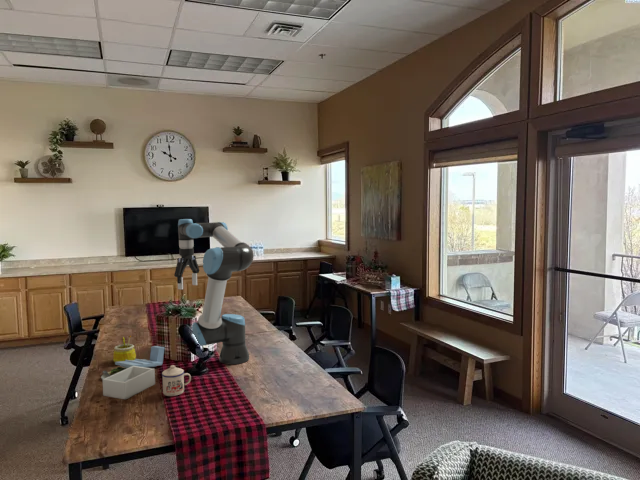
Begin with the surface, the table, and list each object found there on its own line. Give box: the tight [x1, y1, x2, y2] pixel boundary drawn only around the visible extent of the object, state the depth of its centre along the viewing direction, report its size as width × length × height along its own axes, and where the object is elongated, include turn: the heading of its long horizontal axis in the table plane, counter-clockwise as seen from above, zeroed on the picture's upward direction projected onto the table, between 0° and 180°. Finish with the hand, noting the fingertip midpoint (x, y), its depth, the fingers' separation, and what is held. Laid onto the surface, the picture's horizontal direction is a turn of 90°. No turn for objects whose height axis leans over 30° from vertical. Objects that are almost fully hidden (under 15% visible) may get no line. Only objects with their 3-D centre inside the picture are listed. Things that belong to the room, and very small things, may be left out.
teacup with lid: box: [161, 364, 192, 397], centre depth 208 cm, size 12×9×12 cm
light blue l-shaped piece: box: [114, 345, 165, 368], centre depth 238 cm, size 12×22×9 cm, turn 153°
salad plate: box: [100, 366, 127, 380], centre depth 228 cm, size 19×18×5 cm
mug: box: [112, 335, 137, 363], centre depth 250 cm, size 13×11×12 cm
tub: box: [101, 366, 156, 400], centre depth 212 cm, size 12×18×7 cm, turn 159°
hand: (187, 287), depth 263 cm, fingers open, 13 cm apart
